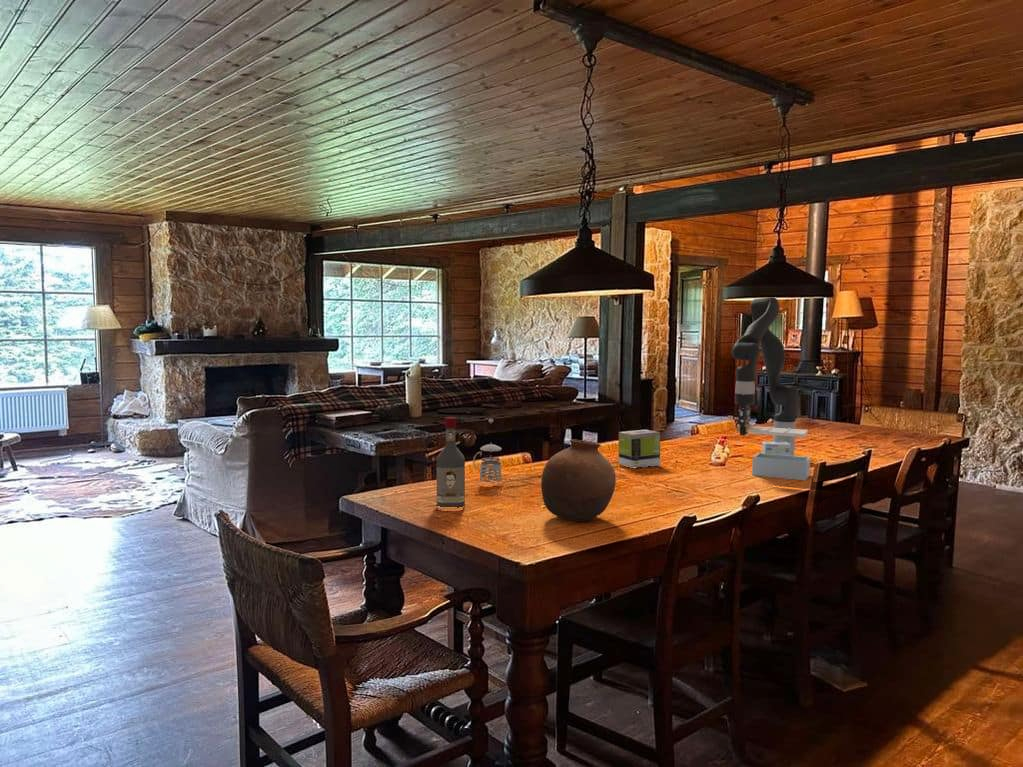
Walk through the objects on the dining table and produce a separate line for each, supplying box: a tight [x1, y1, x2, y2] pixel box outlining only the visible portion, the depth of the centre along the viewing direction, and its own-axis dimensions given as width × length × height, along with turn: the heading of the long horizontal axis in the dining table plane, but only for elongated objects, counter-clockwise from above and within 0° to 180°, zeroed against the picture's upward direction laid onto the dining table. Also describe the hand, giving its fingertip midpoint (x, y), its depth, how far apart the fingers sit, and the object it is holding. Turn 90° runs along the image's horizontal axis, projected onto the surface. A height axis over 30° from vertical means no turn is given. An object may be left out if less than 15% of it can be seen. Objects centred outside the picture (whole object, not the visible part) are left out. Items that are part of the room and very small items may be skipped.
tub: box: [751, 452, 811, 481], centre depth 295 cm, size 11×20×8 cm, turn 62°
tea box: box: [618, 429, 661, 469], centre depth 317 cm, size 15×10×15 cm, turn 115°
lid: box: [736, 423, 809, 438], centre depth 296 cm, size 12×26×2 cm, turn 62°
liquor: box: [436, 416, 466, 508], centre depth 244 cm, size 9×9×30 cm
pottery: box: [540, 438, 617, 522], centre depth 231 cm, size 23×23×25 cm
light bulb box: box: [761, 441, 791, 456], centre depth 314 cm, size 11×7×11 cm, turn 84°
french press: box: [472, 418, 502, 483], centre depth 280 cm, size 10×12×25 cm
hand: (743, 434), depth 301 cm, fingers closed on lid, 4 cm apart
